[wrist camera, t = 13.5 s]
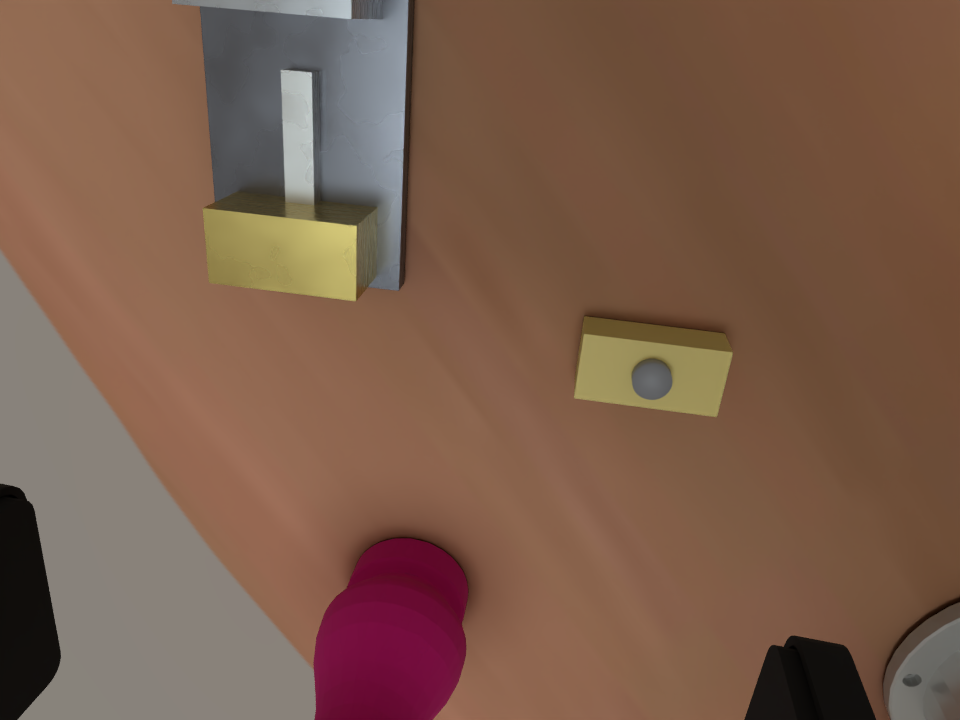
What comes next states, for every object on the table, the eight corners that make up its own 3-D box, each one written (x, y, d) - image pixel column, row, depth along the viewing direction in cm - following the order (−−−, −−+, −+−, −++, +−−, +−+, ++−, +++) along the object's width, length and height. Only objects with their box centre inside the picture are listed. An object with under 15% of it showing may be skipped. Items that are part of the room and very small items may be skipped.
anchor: (724, 333, 31) (735, 358, 29) (709, 395, 33) (719, 424, 30) (584, 315, 32) (583, 339, 29) (574, 377, 33) (573, 404, 31)
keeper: (425, -301, 24) (387, -377, 19) (404, 283, 32) (373, 325, 28) (189, -313, 24) (99, -389, 20) (230, 262, 33) (173, 300, 28)
